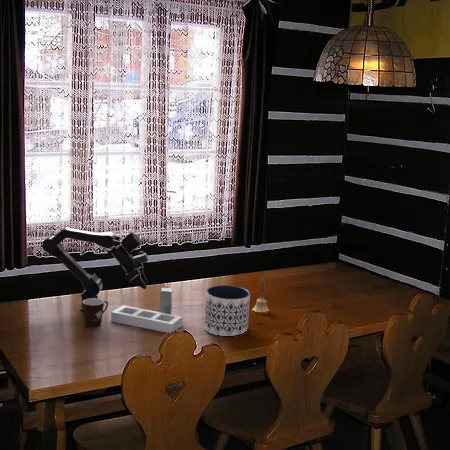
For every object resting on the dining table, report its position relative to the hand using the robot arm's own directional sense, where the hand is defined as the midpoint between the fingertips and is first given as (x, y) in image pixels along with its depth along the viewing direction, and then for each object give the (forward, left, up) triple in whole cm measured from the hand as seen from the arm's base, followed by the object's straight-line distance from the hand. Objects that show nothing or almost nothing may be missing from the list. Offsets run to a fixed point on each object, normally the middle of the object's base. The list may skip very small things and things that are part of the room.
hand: (146, 285), depth 297 cm
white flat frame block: (-6, -9, -13) cm, 17 cm away
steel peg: (+6, -6, -13) cm, 16 cm away
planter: (+18, -32, -13) cm, 39 cm away
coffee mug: (-24, +1, -13) cm, 27 cm away
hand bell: (+46, -24, -13) cm, 54 cm away
